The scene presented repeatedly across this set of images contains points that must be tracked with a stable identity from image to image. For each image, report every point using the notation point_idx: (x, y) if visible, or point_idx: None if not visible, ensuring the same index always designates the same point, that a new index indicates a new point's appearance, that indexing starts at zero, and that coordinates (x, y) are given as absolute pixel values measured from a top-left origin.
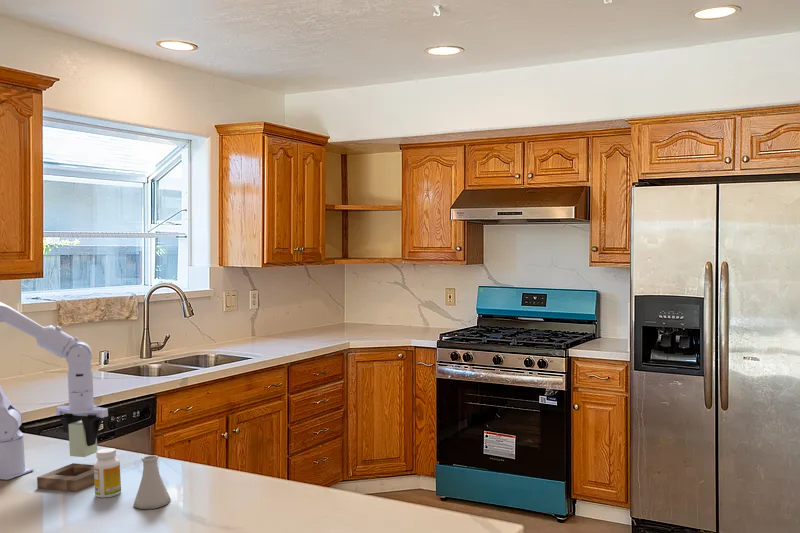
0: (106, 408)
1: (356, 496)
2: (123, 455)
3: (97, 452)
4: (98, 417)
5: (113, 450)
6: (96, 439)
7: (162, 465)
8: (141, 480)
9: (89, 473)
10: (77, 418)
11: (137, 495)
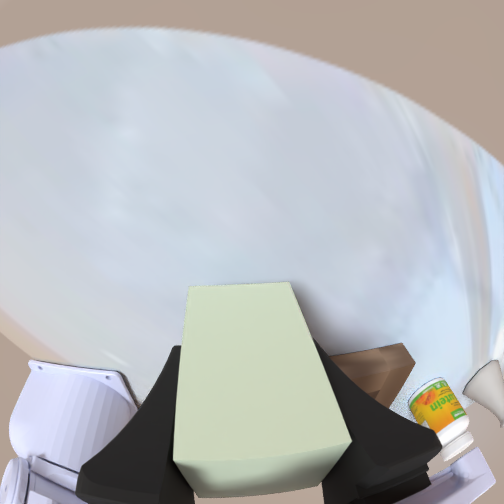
0: (489, 487)
1: None
2: (318, 113)
3: (446, 460)
4: (416, 474)
5: (470, 443)
6: (308, 331)
7: (491, 221)
8: (487, 408)
9: (385, 406)
10: (175, 492)
11: (473, 399)
